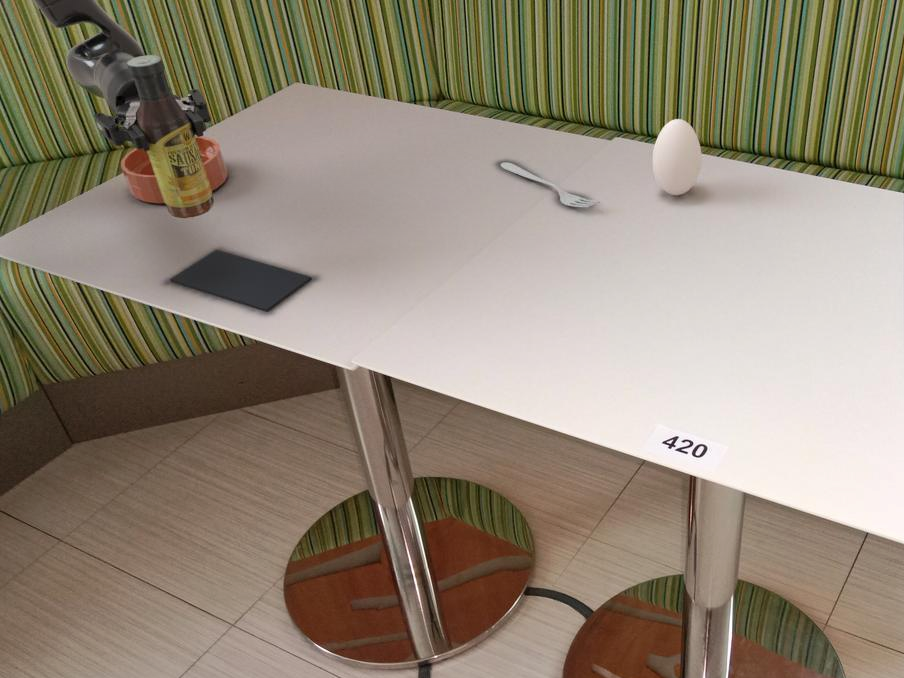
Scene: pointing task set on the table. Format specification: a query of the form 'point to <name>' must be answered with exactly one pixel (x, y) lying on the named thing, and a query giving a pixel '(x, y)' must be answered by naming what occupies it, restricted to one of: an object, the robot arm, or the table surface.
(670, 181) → the egg
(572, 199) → the fork
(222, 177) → the bowl
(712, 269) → the table surface
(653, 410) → the table surface
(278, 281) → the mat
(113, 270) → the table surface
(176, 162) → the sauce bottle
